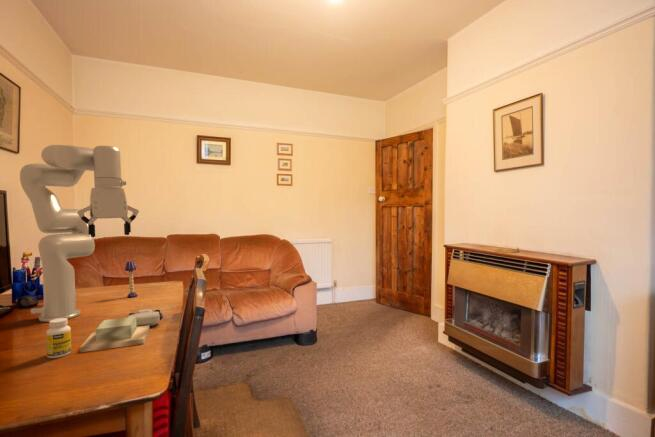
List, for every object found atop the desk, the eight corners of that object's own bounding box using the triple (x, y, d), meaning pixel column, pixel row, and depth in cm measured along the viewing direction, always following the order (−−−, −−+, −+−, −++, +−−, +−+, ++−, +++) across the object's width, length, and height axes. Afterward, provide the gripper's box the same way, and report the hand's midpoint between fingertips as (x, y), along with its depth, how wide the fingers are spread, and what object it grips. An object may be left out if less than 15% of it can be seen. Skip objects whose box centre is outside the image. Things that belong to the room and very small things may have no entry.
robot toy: (126, 323, 124) (122, 332, 111) (125, 310, 124) (122, 319, 111) (163, 317, 130) (164, 326, 116) (162, 305, 130) (163, 313, 117)
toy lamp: (125, 298, 156) (124, 262, 155) (126, 296, 160) (125, 261, 159) (137, 297, 158) (136, 261, 158) (137, 295, 162) (136, 260, 162)
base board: (80, 352, 96) (79, 333, 96) (93, 336, 108) (92, 319, 108) (143, 343, 102) (143, 325, 102) (149, 329, 114) (149, 313, 114)
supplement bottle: (51, 360, 91) (50, 324, 91) (43, 356, 94) (42, 321, 94) (75, 353, 96) (73, 318, 95) (66, 349, 98) (65, 315, 98)
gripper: (134, 186, 120) (136, 234, 121) (73, 184, 108) (76, 237, 109) (140, 184, 115) (142, 234, 115) (78, 182, 103) (80, 238, 103)
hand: (110, 235), depth 112 cm, fingers open, 9 cm apart
